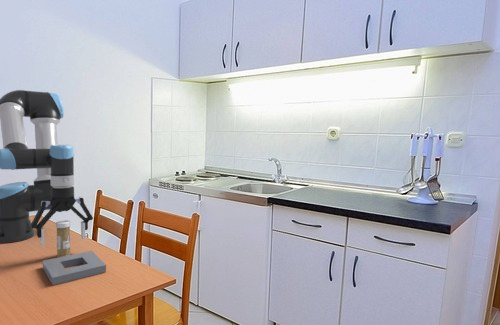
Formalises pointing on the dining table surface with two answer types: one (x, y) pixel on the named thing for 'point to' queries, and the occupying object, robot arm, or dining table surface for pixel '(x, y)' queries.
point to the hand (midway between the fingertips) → (63, 242)
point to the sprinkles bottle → (63, 238)
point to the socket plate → (60, 274)
